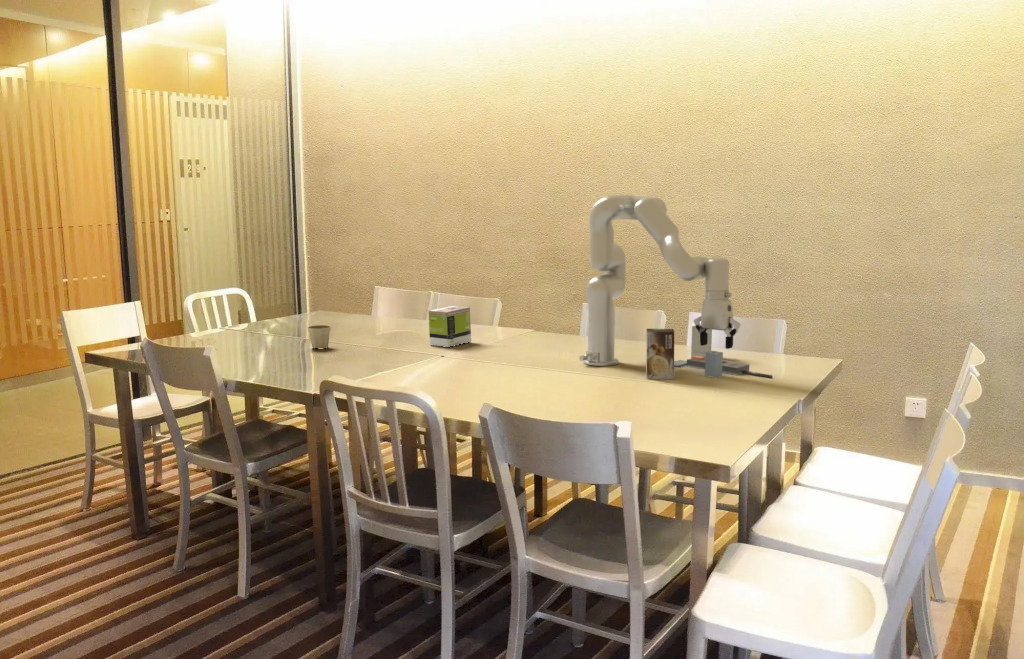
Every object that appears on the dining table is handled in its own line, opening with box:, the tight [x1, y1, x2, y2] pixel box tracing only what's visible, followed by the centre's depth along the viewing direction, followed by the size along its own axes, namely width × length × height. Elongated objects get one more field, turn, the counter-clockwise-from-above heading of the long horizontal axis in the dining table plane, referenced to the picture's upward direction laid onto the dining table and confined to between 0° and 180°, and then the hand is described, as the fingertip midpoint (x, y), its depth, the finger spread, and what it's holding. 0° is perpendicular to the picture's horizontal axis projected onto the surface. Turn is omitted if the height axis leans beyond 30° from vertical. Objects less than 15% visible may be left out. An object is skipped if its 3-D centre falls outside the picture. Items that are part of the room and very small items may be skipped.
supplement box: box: [690, 322, 713, 359], centre depth 311 cm, size 7×7×13 cm
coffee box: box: [645, 328, 675, 380], centre depth 279 cm, size 9×6×16 cm
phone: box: [674, 359, 687, 368], centre depth 301 cm, size 10×6×1 cm, turn 134°
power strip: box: [686, 356, 773, 379], centre depth 289 cm, size 8×31×3 cm, turn 43°
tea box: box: [428, 305, 472, 348], centre depth 341 cm, size 15×10×15 cm
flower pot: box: [306, 324, 332, 349], centre depth 334 cm, size 9×9×9 cm
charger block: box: [704, 350, 724, 378], centre depth 282 cm, size 4×4×8 cm
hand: (716, 346), depth 281 cm, fingers open, 9 cm apart
